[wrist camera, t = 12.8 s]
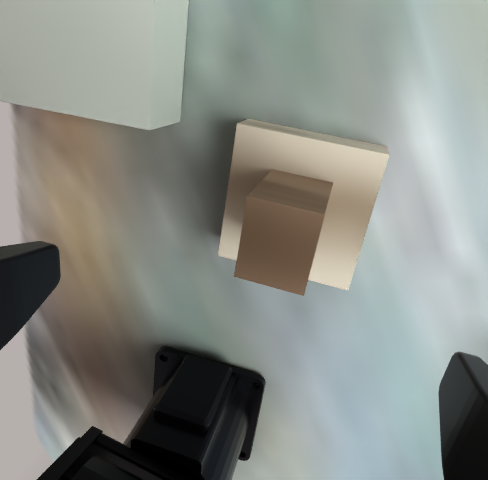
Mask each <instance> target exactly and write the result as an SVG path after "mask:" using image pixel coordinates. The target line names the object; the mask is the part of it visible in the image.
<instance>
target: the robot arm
mask: <svg viewBox="0 0 488 480" xmlns="http://www.w3.org/2000/svg"><path fill="white" fill-rule="evenodd" d="M59 280H60V257H59V249H58V247H57V246H56V245H54V244H50V243H47V242H43V241H36V242H29V243H22V244H16V245H8V246H2V247H0V350H1V349H2V348H3V347H4V346H5V345H6V344H7V343H8V342H9V341H10V340H11V339H12V338H13V337H14V336H15V335H16V334H17V333H18V332H19V330H20V329H21V328H22V327H23V326H24V325H25V324H26V322H27V321H28V320H29V319H30V318H31V316H32V315H33V314H34V313H35V312H36V310H37V309H38V308H39V307H40V306H41V304H42V303H43V302H44V301H45V300H46V298H47V297H48V296H49V295H50V294H51V292H52V291H53V290H54V289H55V287H56V286H57V285H58V283H59ZM164 355H166V356H167V357H165V356H164ZM253 382H256V383H258V384H259V385H256V384H254V383H253ZM264 388H265V379H264V378H263V377H262V376H261V375H259V374H256V373H252V372H249V371H246V370H242V369H239V368H236V367H232V366H229V365H225V364H222V363H219V362H215V361H212V360H209V359H205V358H202V357H199V356H195V355H192V354H189V353H185V352H182V351H179V350H175V349H172V348H169V347H161V348H160V349H159V350H158V352H157V353H156V358H155V374H154V391H153V398H152V400H151V401H150V403H149V404H148V406H147V407H146V409H145V411H144V412H143V414H142V415H141V417H140V418H139V420H138V421H137V423H136V425H135V426H134V428H133V429H132V431H131V432H130V434H129V435H128V437H127V439H126V440H125V442H124V443H123V444H122V443H120V442H118V441H116V440H114V439H112V438H111V437H109V436H107V435H105V434H103V431H102V430H100V429H98V428H96V427H94V426H92V427H91V428H90V429H89V430H88V431H87V432H86V433H85V434H84V435H83V436H82V437H81V438H80V437H79V438H77V439H76V440H75V441H74V442H73V443H72V444H71V445H70V446H69V447H68V448H67V449H66V450H65V451H64V453H63V454H62V455H61V456H60V457H59V458H58V459H57V460H56V461H55V462H54V463H53V464H52V465H51V466H50V467H49V468H48V469H47V470H46V471H45V472H44V473H43V474H42V475H41V476H40V477H39V478H38V479H37V480H232V476H233V473H234V470H235V467H236V464H237V461H238V459H239V460H243V461H245V460H248V459H249V458H250V455H251V451H252V446H253V441H254V437H255V432H256V427H257V422H258V417H259V412H260V408H261V403H262V398H263V393H264ZM439 414H440V436H441V456H442V468H443V475H444V480H488V365H487V364H486V363H485V362H484V361H483V360H482V359H481V358H479V357H477V356H474V355H471V354H467V353H463V352H456V353H455V354H454V355H453V356H452V358H451V360H450V362H449V364H448V367H447V369H446V371H445V374H444V376H443V378H442V380H441V383H440V387H439Z"/></svg>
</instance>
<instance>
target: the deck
mask: <svg viewBox="0 0 488 480" xmlns="http://www.w3.org/2000/svg"><path fill="white" fill-rule="evenodd" d="M188 4H189V0H0V101H2V102H7V103H12V104H17V105H22V106H28V107H33V108H38V109H43V110H48V111H53V112H58V113H64V114H69V115H74V116H79V117H84V118H89V119H94V120H99V121H105V122H110V123H115V124H120V125H125V126H130V127H135V128H141V129H146V130H153V129H156V128H160V127H164V126H167V125H171V124H175V123H178V122H180V118H181V104H182V89H183V75H184V61H185V47H186V33H187V19H188Z"/></svg>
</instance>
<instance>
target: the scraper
mask: <svg viewBox="0 0 488 480" xmlns="http://www.w3.org/2000/svg"><path fill="white" fill-rule="evenodd" d="M389 155H390V154H389V151H388V148H387V146H382V145H377V144H372V143H367V142H362V141H357V140H352V139H347V138H342V137H337V136H332V135H327V134H322V133H317V132H312V131H307V130H302V129H297V128H292V127H287V126H282V125H277V124H272V123H267V122H262V121H257V120H252V119H247V120H244V121H242V122H239V123H237V127H236V134H235V141H234V148H233V155H232V162H231V169H230V176H229V183H228V190H227V197H226V204H225V211H224V218H223V225H222V232H221V239H220V245H219V252H218V256H221V257H225V258H229V259H232V260H236V267H235V273H234V277H237V278H241V279H245V280H248V281H252V282H256V283H259V284H263V285H266V286H270V287H274V288H277V289H281V290H285V291H288V292H292V293H295V294H299V295H303V296H304V293H305V289H306V286H307V282H308V280H311V281H314V282H318V283H322V284H326V285H329V286H333V287H337V288H341V289H344V290H348V289H349V286H350V283H351V279H352V276H353V273H354V269H355V266H356V263H357V260H358V256H359V253H360V250H361V247H362V243H363V240H364V237H365V233H366V230H367V227H368V224H369V220H370V217H371V214H372V211H373V207H374V204H375V201H376V197H377V194H378V191H379V188H380V184H381V181H382V178H383V175H384V171H385V168H386V165H387V162H388V158H389Z"/></svg>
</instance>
